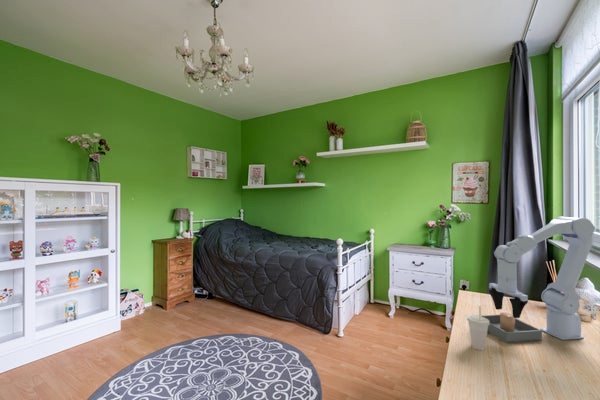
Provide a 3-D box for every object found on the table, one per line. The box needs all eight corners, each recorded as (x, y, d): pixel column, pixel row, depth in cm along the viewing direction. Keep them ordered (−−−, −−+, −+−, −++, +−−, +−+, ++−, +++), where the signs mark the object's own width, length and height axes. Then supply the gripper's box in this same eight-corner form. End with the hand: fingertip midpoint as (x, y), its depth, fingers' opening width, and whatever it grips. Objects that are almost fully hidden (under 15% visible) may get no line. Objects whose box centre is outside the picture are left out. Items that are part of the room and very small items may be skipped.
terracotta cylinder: (508, 327, 105) (508, 312, 105) (517, 333, 101) (517, 317, 101) (497, 327, 105) (497, 312, 105) (506, 333, 101) (506, 317, 100)
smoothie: (493, 353, 89) (493, 310, 89) (471, 351, 90) (471, 309, 90) (484, 343, 95) (484, 303, 95) (464, 341, 96) (464, 301, 96)
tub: (507, 322, 111) (507, 314, 111) (541, 340, 97) (541, 330, 97) (476, 324, 109) (476, 315, 109) (506, 343, 95) (506, 333, 95)
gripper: (482, 272, 109) (482, 306, 109) (515, 283, 95) (515, 322, 95) (497, 272, 110) (498, 305, 110) (532, 282, 96) (533, 321, 96)
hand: (507, 313), depth 103 cm, fingers open, 7 cm apart
